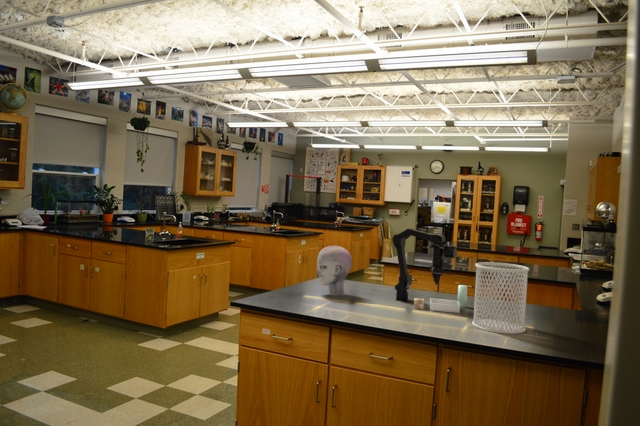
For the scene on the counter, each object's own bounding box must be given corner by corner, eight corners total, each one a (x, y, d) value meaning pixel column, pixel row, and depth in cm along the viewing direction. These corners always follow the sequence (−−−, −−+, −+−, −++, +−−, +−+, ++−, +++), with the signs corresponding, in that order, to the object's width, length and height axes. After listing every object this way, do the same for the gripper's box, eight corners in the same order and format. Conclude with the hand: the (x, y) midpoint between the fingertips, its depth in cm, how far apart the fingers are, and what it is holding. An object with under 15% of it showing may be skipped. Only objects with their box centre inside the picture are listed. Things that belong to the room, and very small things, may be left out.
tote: (430, 310, 256) (430, 303, 256) (429, 305, 270) (429, 298, 270) (459, 313, 253) (460, 305, 253) (457, 307, 267) (457, 300, 267)
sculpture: (324, 298, 274) (326, 247, 273) (308, 291, 292) (310, 244, 291) (356, 296, 285) (359, 247, 284) (339, 289, 303) (341, 243, 302)
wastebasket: (506, 336, 211) (510, 270, 210) (461, 323, 231) (464, 263, 230) (536, 329, 226) (539, 268, 225) (491, 318, 246) (494, 261, 245)
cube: (414, 308, 259) (414, 299, 259) (414, 306, 264) (414, 297, 264) (423, 309, 258) (423, 300, 258) (423, 307, 263) (423, 298, 263)
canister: (457, 306, 268) (458, 286, 268) (456, 305, 273) (457, 284, 273) (466, 307, 267) (467, 286, 267) (465, 305, 272) (466, 285, 272)
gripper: (454, 259, 257) (452, 287, 258) (450, 255, 276) (448, 281, 276) (433, 257, 259) (431, 285, 260) (431, 253, 277) (429, 280, 278)
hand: (435, 283), depth 268 cm, fingers open, 9 cm apart
